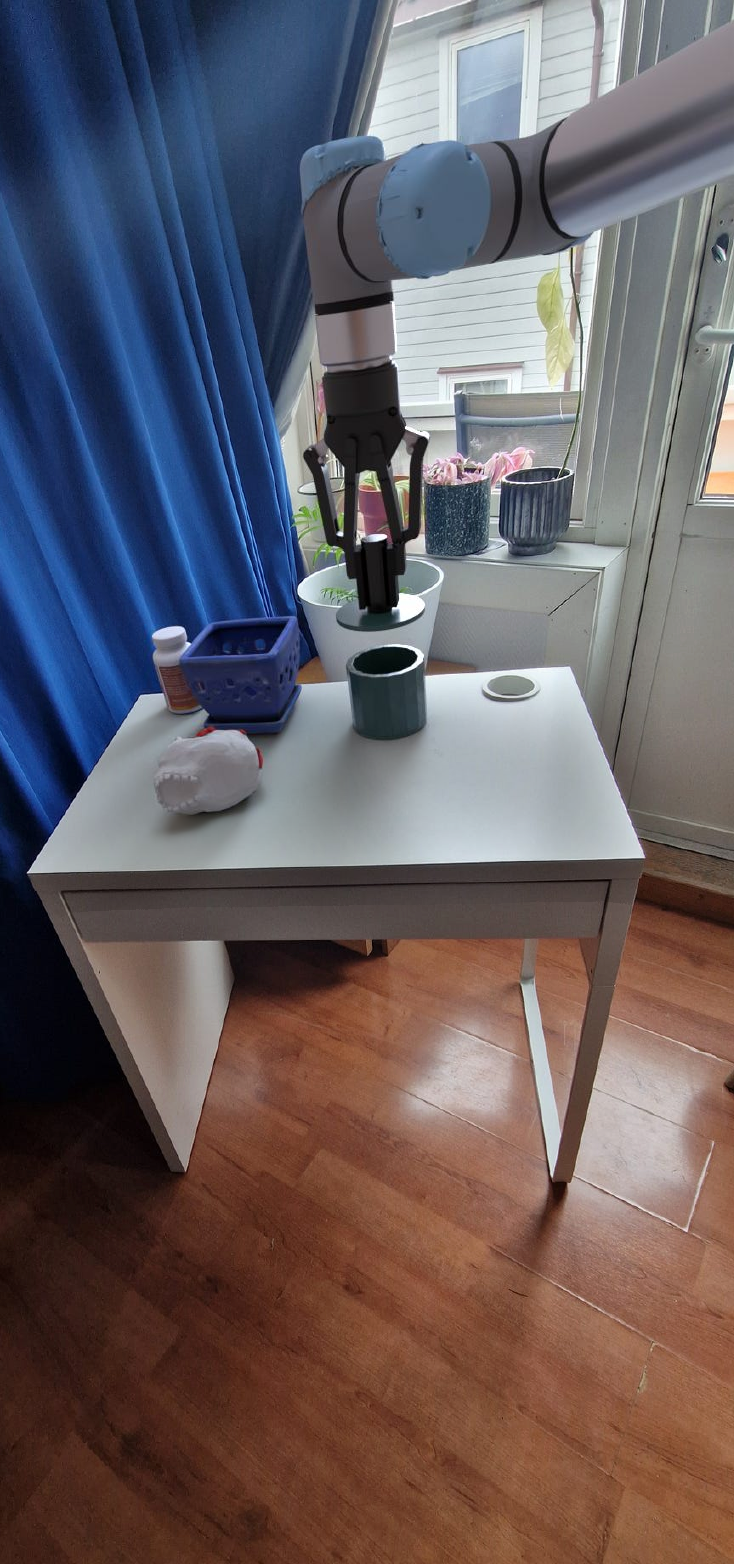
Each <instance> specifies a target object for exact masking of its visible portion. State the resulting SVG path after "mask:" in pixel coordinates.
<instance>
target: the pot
mask: <svg viewBox="0 0 734 1564" xmlns="http://www.w3.org/2000/svg"><path fill="white" fill-rule="evenodd" d="M345 670H346V671H345V672H346V679H347V686H348V694H349V703H350V710H351V720H352V724H353V728H354V730H355V732H356V733H357V734H359V735H360V736H362V737H364V738H368V739H371V740H377V741H378V740H379V741H383V740H384V741H387V740H398V739H402V738H405V737H408V736H411V735H414V734H415V733H418V731H420V730H421V729H423V728H424V727H425V725H426V724H427V719H428V705H427V685H426V666H425V655H424V653H423V651H422V650H420V649H419V648H416V647H413V646H412V645H407V644H397V643H396V644H393V643H392V644H381V645H377V646H372V647H368V648H365V649H362V650H360V651H358V652H356V653H354V654H353V655H352V656H350V657H349V658H348V659H347V662H346V664H345Z"/></svg>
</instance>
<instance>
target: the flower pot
mask: <svg viewBox="0 0 734 1564" xmlns="http://www.w3.org/2000/svg"><path fill="white" fill-rule="evenodd" d="M299 629H300V628H299V621H298V618H297V616H294V615H291V616H290V615H289V616H288V615H287V616H269V617H256V618H255V617H253V618H243V619H242V618H241V619H233V620H230V619H229V620H223V621H214V622H210V623H208V624H207V625H206V626H205V627H204V628H203V629H202V631H201V632H200V633H198V634H197V636H196V637H195V638H194V639H193V641H192V642H191V643H190V644H191V645H190V646H189V647H188V648H187V649H186V651H185V652H184V653H183V654H182V656H181V657H180V659H179V664H180V667H181V670H182V673H183V675H184V677H185V679H186V682H187V684H188V686H189V688H190V690H191V692H192V693H193V695H194V697H195V698H196V700H197V701H198V702H199V704H200V705H201V706H202V708H201V709H203V710H204V711H205V712H206V713H207V714H208V715H207V716H206V719H205V720H204V722H203V725H202V726H203V728H204V730H205V729H207V728H208V727H214V728H215V729H216V730H228V729H233V730H240V729H241V730H244V731H245V732H246V734H275V733H276V734H277V733H279V732H280V731H281V730H282V728H283V727H284V725H285V723H286V722H287V720H288V717H289V716H290V714H291V712H292V711H293V709H294V707H295V705H296V703H297V701H298V699H299V697H300V695H301V692H302V688H303V687H302V684H300V683H296V682H297V678H298V673H299V666H300V654H301V646H300V642H301V641H300V630H299ZM259 640H263V642H264V646H265V647H262V648H259V647H258V645H257V643H256V641H259ZM225 644H227V645H229V646H231V648H230V649H231V650H230V651H228V650H225ZM239 648H241V649H242V652H240V651H239ZM198 682H199V683H200V686H201V688H202V691H201V690H200V687H199V684H198Z"/></svg>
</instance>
